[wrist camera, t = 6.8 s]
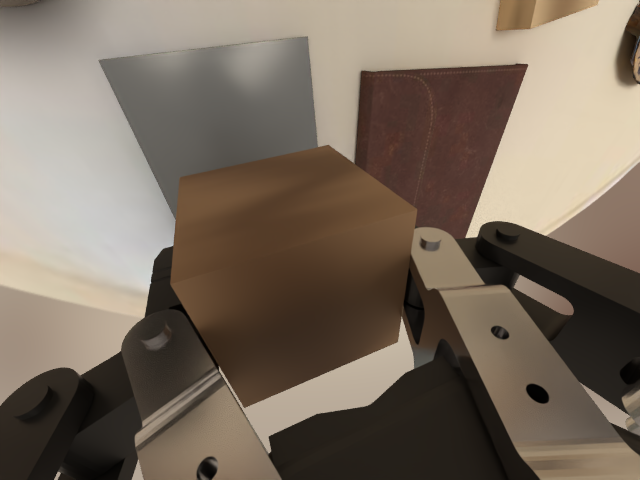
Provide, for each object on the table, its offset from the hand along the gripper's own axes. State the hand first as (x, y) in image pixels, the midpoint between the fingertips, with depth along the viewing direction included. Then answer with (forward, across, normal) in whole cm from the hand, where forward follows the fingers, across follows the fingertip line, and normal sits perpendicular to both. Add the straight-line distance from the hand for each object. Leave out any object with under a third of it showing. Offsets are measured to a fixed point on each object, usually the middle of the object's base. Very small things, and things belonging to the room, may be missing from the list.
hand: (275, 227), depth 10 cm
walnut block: (0, 0, 0) cm, 0 cm away
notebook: (+12, -16, +7) cm, 21 cm away
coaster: (+11, 0, 0) cm, 11 cm away
